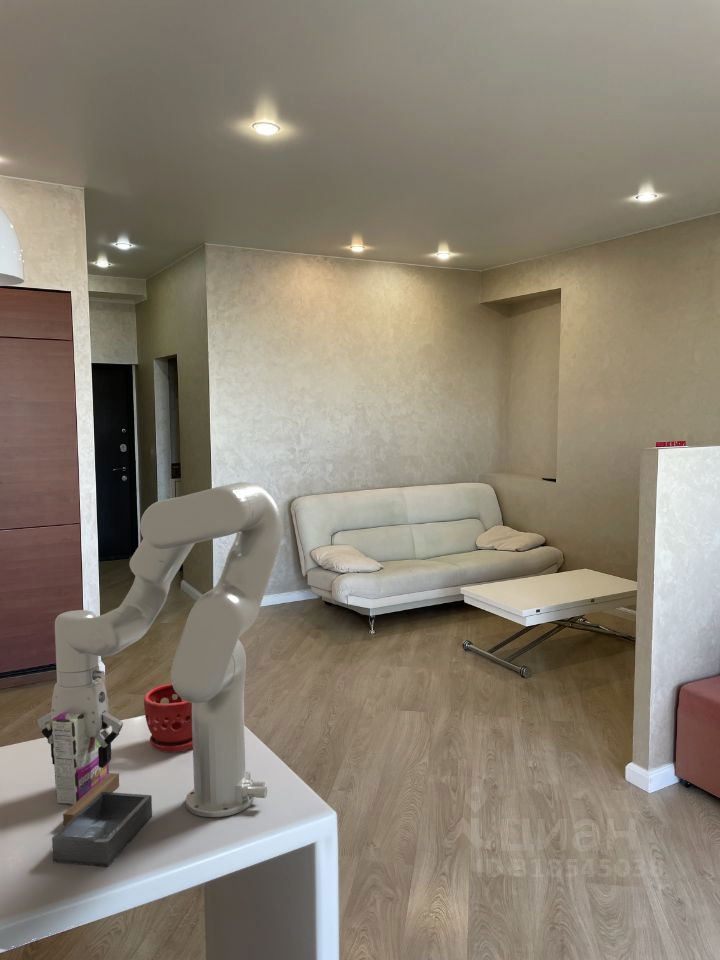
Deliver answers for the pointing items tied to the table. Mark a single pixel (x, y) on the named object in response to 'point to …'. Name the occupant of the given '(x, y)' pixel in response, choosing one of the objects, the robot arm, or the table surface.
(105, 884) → the table surface
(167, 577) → the robot arm
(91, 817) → the keeper
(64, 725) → the candy bar box
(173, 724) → the plant pot
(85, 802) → the door edge rail
